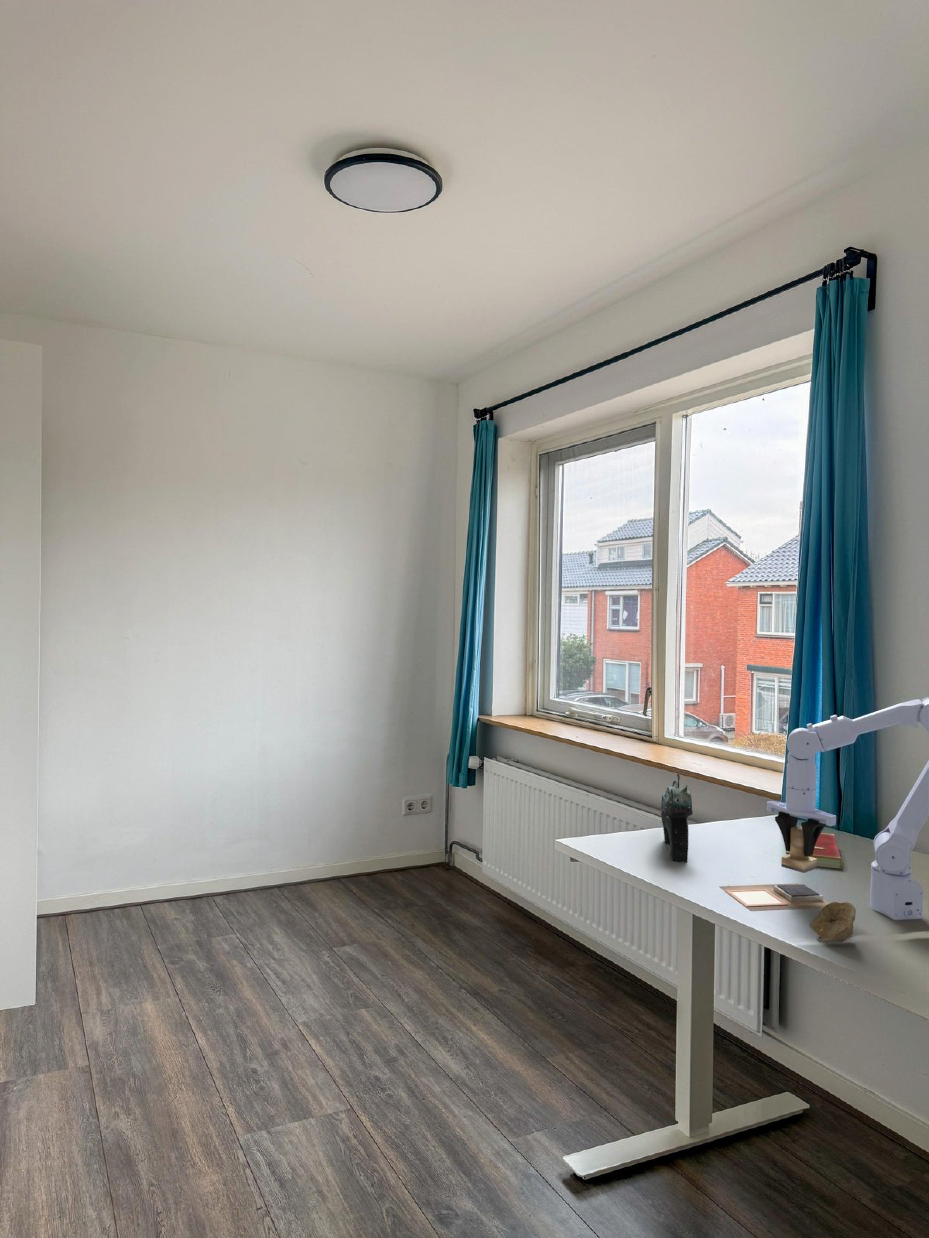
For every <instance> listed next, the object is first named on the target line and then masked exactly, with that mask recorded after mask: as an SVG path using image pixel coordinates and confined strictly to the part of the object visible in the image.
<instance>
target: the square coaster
mask: <svg viewBox="0 0 929 1238" xmlns="http://www.w3.org/2000/svg"><path fill="white" fill-rule="evenodd" d="M724 892H725V893H726V892H727V894H728V895H729V896H730V895H731V896H730V897H732V898H733V899H734V898H735V899H734V900H735V901H737V902H738V901H739V902H738V903H739V904H741V905H742V906H743V905H744V907H745V908H746V907H759V906H782V905H788V904H787V903H786V902H784V901H783V900H781V899H780V898H778V897H777V896H775V895H774V894H772V893H771V892H770V891H768V890H767V889H748V890H725V891H724Z"/></svg>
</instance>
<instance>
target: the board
mask: <svg viewBox="0 0 929 1238" xmlns="http://www.w3.org/2000/svg"><path fill="white" fill-rule="evenodd" d="M799 884H800V883H777V884H776V883H774V884H749V885H748V884H747V885H726V886H725V885H724V886H723V885H722V886H721V885H720V886H718V887H719V888H720V889H721V890H723V891H724V892H725V890H748V889H767V890H768V891H770V892H771V893H772V894H774V895H775V896H777V897H778V898H780V899H781V900H783V901H784V902H786V903H787V904H788V905H782V906H759V907H745V906H744V905H742V906H744V907H745V908H746V909H747V910H749V911H751V912H760V911H780V910H802V909H803V910H805V909H822V908H824V907H825V906H826V905H828V904H830V903H831V902H828V901H827V900H825V899H823V901H809V902H790V901H789V900H787V899H786V898H784V897H783V896H781V895H780V894H778V893H777V892H775V891H774V886H776V885H799ZM725 893H727V892H725ZM727 894H728V893H727ZM729 896H730V897H732V896H731V895H729ZM733 899H734V900H736V899H735V898H733ZM737 902H738V903H740V902H739V901H737Z"/></svg>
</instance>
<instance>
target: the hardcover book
mask: <svg viewBox="0 0 929 1238" xmlns="http://www.w3.org/2000/svg"><path fill="white" fill-rule="evenodd" d="M785 854H786V855H789V854H790V851H786V850H785ZM809 857H813V858H816V859H817V867H823V868H824V867H825V868H834V869H839V870H842V869H843V862H842V858H841V854H840V849H839V846H838V841H837V838H836V835H835V834H834V833H826V832H825V833H824V832H821V833H820V835H819V837H818V839H817V842H816V845H815V848H814V851H813V855H811V856H809Z"/></svg>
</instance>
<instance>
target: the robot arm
mask: <svg viewBox="0 0 929 1238" xmlns="http://www.w3.org/2000/svg"><path fill="white" fill-rule="evenodd" d="M918 723H920V724H921V726H922V727H923V728H924V729H925V731H926V732H927V734H929V696H927V697H924V698H923V699H911V700H909V701H908V700H907V701H905V702H900V703H897V704H894V705H891V706H888V707H886V708H883V709H880V710H877V711H874V712H871V713H868V714H864V715H862V716H859V717H857V718H854V719H853V718H852V719H851V718H850V717H846V716H845V715H841V716H839V717H838V715H837V714H833V715H830V719H829V720H825V721H821V722H819V723H815V724H813V723H812V722H810V723H807V724H806V727H807V728H804V727H798V728H795V729H793V730H792V731H791V732H790V733H789V735H788V738H787V741H786V748H787V750H788V754H787V763H786V779H785V780H786V782H785V802H780V801H773V800H770V801H769V800H768V801H766V812H770V813H773V812H774V813H777V815H776V816H775V817H774V821H775V822H776V824H777V826H778V828H779V830H780V833H781V836H782V839H783V843H784V844H783V845H784V849H785V852H786V851H790V841H791V827H798V821H799V819H802V820H806V821H802V822H801V823H800V825H801V826H800V827H802V830H803V836H804V856H807V857H808V856H811V855H813V851H814V848H815V845H816V842H817V839H818V837H819V835H820V833H823V830H824V829H825V827H826V826H827V827H832V826H833V827H834V826H836V825H837V815H835V814H832V813H828V812H826V811H822V810H820V809H818V808H816V805H817V804H816V803H817V802H816V801H817V799H816V798H817V770H818V769H817V765H816V754H817V753H818V752H822V753H825V752H828V751H832V750H834V749H838V748H842V747H844V746H848V745H851V744H854V743H855V742H856V741H857V738H858V736H859V735H861V734H866V733H870V732H874V731H878V730H882V729H886V728H889V727H894V726H897V725H904V726H908V727H912V728H916V729H918V727H919V726H918ZM928 818H929V760H928V761H927V763H926V764H925V766H924V767H923V769H922V771H921V772H920V774H919V776H918V778H917V779H916V781H915V783H914V785H913V786H912V788H911V790H910V791H909V793H908V795H907V796H906V798H905V800H904V802H903V803H902V804H901V807H900V808H899V810H898V812H897V813H896V816H895V817H894V818H893V819H892V820H890V822H889V823H888V825H887V826H886V828H884V829H883V830H882V831H879V833H877V834H876V835H875V836H874V839H873V841H872V843H873V844H872V846H873V850H874V852H875V853H874V856H875V859H874V861H872V862H871V864H870V893H869V896H870V897H869V908H870V909H872V910H873V911H875V912H877V913H881V914H883V915H885V916H886V917H888V918H890V919H891V920H895V921H899V920H922V919H923V900H924V897H923V894H924V893H923V888H922V887H923V886H921V883H920V882H919V881H917V880H916V879H915V878H914V875H913V872H912V871H913V869H912V866H911V863H912V852H913V850H914V848H915V846H916V844H917V841H918V837H919V833H920V831H921V830H922V828H923V827H924V825H925V823H926V822H927V820H928Z"/></svg>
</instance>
